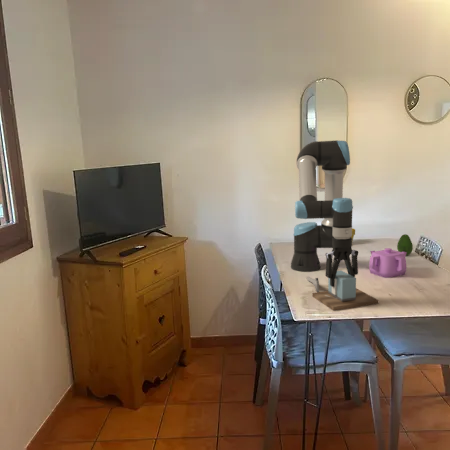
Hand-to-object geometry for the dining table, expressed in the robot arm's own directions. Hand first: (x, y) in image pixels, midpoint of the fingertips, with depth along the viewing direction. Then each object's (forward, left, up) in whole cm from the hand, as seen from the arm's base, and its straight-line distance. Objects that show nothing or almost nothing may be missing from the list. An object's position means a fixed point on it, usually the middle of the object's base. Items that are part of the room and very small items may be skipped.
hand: (341, 292), depth 174 cm
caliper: (-22, -2, -4) cm, 23 cm away
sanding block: (0, 0, -1) cm, 1 cm away
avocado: (-49, +69, -3) cm, 85 cm away
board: (0, +1, -3) cm, 4 cm away
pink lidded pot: (-25, +40, -4) cm, 48 cm away
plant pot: (-86, +55, -3) cm, 102 cm away
